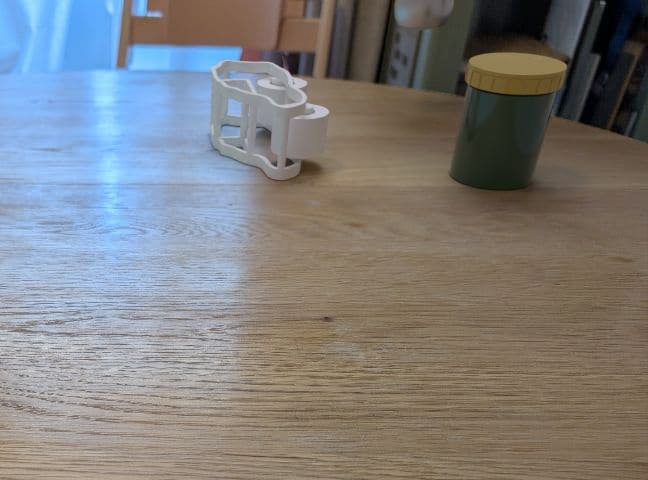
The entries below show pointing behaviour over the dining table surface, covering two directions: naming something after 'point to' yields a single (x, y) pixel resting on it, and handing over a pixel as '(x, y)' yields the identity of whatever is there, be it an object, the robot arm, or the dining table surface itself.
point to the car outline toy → (266, 117)
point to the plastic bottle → (422, 13)
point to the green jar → (500, 138)
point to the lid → (515, 73)
